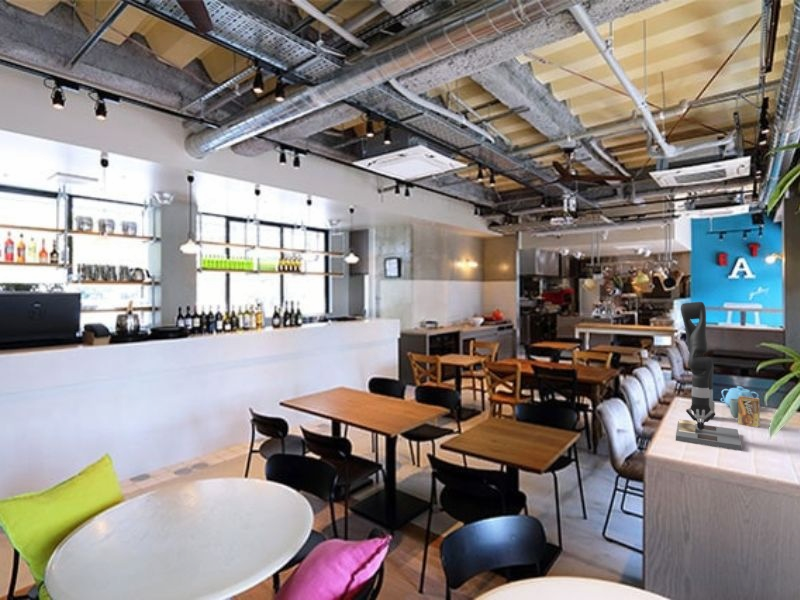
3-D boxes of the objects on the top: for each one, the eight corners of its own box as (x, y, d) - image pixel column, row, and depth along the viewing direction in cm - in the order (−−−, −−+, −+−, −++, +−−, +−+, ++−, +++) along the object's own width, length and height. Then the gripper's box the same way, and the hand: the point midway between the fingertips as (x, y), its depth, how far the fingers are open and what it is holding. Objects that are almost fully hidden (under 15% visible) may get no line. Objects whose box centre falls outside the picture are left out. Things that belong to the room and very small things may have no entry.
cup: (731, 418, 254) (731, 401, 254) (728, 414, 261) (728, 398, 261) (748, 419, 251) (748, 402, 251) (745, 416, 258) (745, 399, 258)
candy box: (759, 426, 240) (759, 398, 239) (758, 427, 237) (758, 399, 236) (739, 422, 246) (739, 395, 246) (737, 424, 243) (738, 396, 243)
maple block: (695, 428, 228) (695, 421, 228) (695, 432, 223) (695, 424, 223) (679, 426, 232) (679, 419, 232) (678, 430, 227) (678, 422, 227)
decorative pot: (763, 411, 268) (763, 389, 267) (738, 412, 267) (738, 389, 266) (741, 404, 284) (741, 383, 284) (717, 405, 283) (717, 384, 283)
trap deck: (737, 434, 227) (737, 429, 227) (741, 450, 204) (741, 445, 204) (678, 425, 242) (678, 421, 242) (675, 440, 219) (675, 435, 219)
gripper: (716, 395, 223) (716, 429, 224) (685, 392, 231) (685, 425, 231) (716, 398, 217) (716, 433, 217) (684, 395, 225) (684, 429, 225)
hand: (700, 429), depth 224 cm, fingers closed
